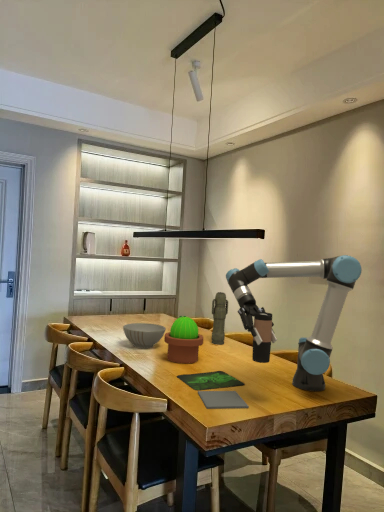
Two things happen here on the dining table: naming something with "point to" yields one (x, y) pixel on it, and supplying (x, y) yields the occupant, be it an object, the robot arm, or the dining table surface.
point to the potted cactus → (183, 341)
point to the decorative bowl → (143, 334)
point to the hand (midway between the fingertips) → (267, 342)
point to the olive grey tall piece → (219, 318)
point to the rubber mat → (222, 399)
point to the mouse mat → (209, 380)
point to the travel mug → (262, 337)
